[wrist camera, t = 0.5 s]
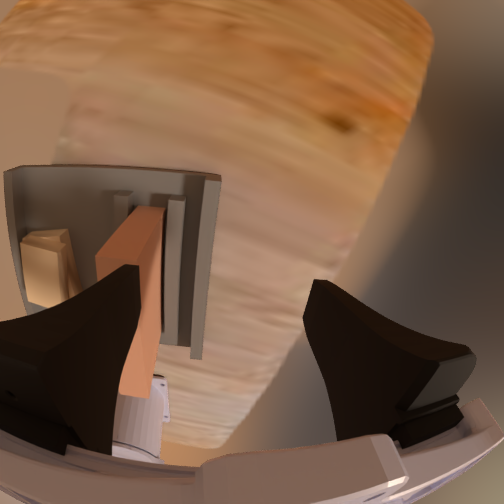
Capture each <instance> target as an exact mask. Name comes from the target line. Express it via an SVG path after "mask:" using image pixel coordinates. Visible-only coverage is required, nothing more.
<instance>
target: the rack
mask: <svg viewBox="0 0 504 504" xmlns="http://www.w3.org/2000/svg"><path fill="white" fill-rule="evenodd" d="M221 182H222V181H221V175H216V174H207V173H198V172H188V171H178V170H167V169H154V168H140V167H122V166H98V165H23V166H18V167H15V168H13V169H10V170H7V171H4V192H5V207H6V216H7V225H8V232H9V239H10V244H11V251H12V256H13V261H14V266H15V271H16V275H17V280H18V284H19V288H20V291H21V295H22V299H23V302H24V306H25V309H26V312H27V315H31V314H34V313H37V312H40V311H42V310H45V309H47V307H44V306H40V305H37V304H35V303H32V302H29V301H28V298H27V293H26V287H25V281H24V274H23V266H22V258H21V247H20V243H21V242H22V241H23V240H22V238H24V237H25V236H26V235H28V234H29V233H30V232H32V231H44V230H57V229H68V231H69V236H70V241H71V246H72V250H73V255H74V259H75V263H76V267H77V271H78V275H79V278H80V282H81V286H82V289H83V291H84V290H85V289H87V288H89V287H90V286H92V285H94V284H95V283H97V282H98V280H97V271H96V260H95V255H96V254H97V253H98V252H99V250H100V249H101V248H102V247H103V245H104V244H105V243H106V242H107V241H108V239H109V238H110V237H111V236H112V235H113V234H114V232H115V231H116V230H117V229H118V228H119V227H120V225H121V224H122V223H123V222H124V221H125V220H126V219H127V217H128V216H129V215H130V214H131V213H132V212H133V211H134V210H135V209H136V208H137V206H150V207H161V208H166V215H165V231H164V254H163V326H162V331H161V335H160V340H159V344H166V345H175V346H185V347H191V352H190V359H198V360H202V350H203V338H204V327H205V316H206V306H207V296H208V286H209V277H210V268H211V259H212V250H213V242H214V234H215V226H216V218H217V211H218V203H219V196H220V189H221Z"/></svg>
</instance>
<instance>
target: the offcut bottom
mask: <svg viewBox="0 0 504 504" xmlns="http://www.w3.org/2000/svg"><path fill="white" fill-rule="evenodd" d="M30 235H32V236H36V237H40V238H44V239H48V240H52V241H56V242H61V243H65V244H66V247H67V274H68V288H69V299H70V298H72V297H74V296H75V295H77V294H79V293H81V292H82V291H83V289H82V286H81V282H80V278H79V275H78V271H77V267H76V263H75V259H74V255H73V250H72V246H71V241H70V236H69V231H68V229H57V230H44V231H32V232H30V233H29V234H28V235H26V236H25V237H24V238H22V240H24V239H26V238H27V237H28V236H30Z"/></svg>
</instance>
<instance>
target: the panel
mask: <svg viewBox="0 0 504 504" xmlns="http://www.w3.org/2000/svg"><path fill="white" fill-rule="evenodd" d="M165 215H166V208H161V207H150V206H137V208H136V209H135V210H134V211H133V212H132V213H131V214H130V215H129V216H128V217H127V219H126V220H125V221H124V222H123V223H122V224H121V225H120V227H119V228H118V229H117V230H116V231H115V232H114V234H113V235H112V236H111V237H110V238H109V239H108V241H107V242H106V243H105V244H104V245H103V247H102V248H101V249H100V250H99V252H98V253H97V254H96V255H95V260H96V271H97V280H98V281H100V280H101V279H103V278H104V277H106V276H107V275H109V274H110V273H112V272H113V271H115V270H116V269H118V268H119V267H121V266H122V265H124V264H130V265H139V271H140V292H141V306H142V308H141V313H140V317H139V322H138V326H137V330H136V333H135V335H134V338H133V341H132V344H131V347H130V350H129V353H128V356H127V358H126V361H125V364H124V367H123V371H122V375H121V379H120V384H119V393H120V394H122V395H128V396H134V397H140V398H147V399H149V397H150V390H151V384H152V378H153V373H154V367H155V361H156V356H157V351H158V346H159V340H160V335H161V331H162V326H163V254H164V231H165Z"/></svg>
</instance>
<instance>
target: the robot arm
mask: <svg viewBox="0 0 504 504" xmlns="http://www.w3.org/2000/svg"><path fill="white" fill-rule="evenodd" d="M141 308H142V306H141V292H140V271H139V265H130V264H124V265H122V266H121V267H119V268H118V269H116V270H115V271H113V272H112V273H110V274H109V275H107V276H106V277H104V278H103V279H101V280H100V281H98V282H97V283H95V284H94V285H92V286H90V287H89V288H87V289H85V290H84V291H82V292H81V293H79V294H77V295H75V296H74V297H72V298H70V299H68V300H66V301H64V302H62V303H60V304H57V305H55V306H52V307H50V308H47V309H45V310H42V311H40V312H37V313H34V314H31V315H27V316H24V317H20V318H16V319H12V320H7V321H1V322H0V490H1V491H3V492H5V493H7V494H8V495H10V496H12V497H14V498H15V499H17V500H19V501H21V502H23V503H25V504H411V503H413V502H415V501H417V500H419V499H420V498H422V497H424V496H426V495H428V494H430V493H431V492H433V491H435V490H437V489H438V488H440V487H442V486H443V485H445V484H447V483H448V482H450V481H452V480H453V479H455V478H456V477H457V476H459V475H461V474H462V473H464V472H465V471H467V470H468V469H469V468H471V467H472V466H473V465H475V464H476V463H477V462H478V461H480V460H481V459H482V458H483V457H484V456H486V455H487V454H488V453H489V452H490V451H491V450H492V449H494V448H495V447H496V446H497V445H498V444H499V443H500V442H501V441H502V440H503V439H504V433H503V432H502V430H501V429H500V427H499V425H498V424H497V423H496V421H495V419H494V418H493V416H492V415H491V414H490V412H489V411H488V409H487V408H486V406H485V405H484V403H483V402H482V400H481V399H480V398H477V399H475V400H473V401H471V402H469V403H467V404H465V405H464V406H462V407H461V408H460V409H459V408H458V406H457V405H456V404H457V403H458V402H459V397H458V396H457V395H456V393H457V392H458V391H459V389H460V388H461V387H462V386H463V384H464V383H465V382H466V380H467V379H468V378H469V376H470V375H471V373H472V371H473V369H474V367H475V365H476V355H475V354H474V353H473V352H472V351H471V349H470V348H469V347H467V346H466V345H462V344H458V343H452V342H448V341H443V340H440V339H436V338H433V337H430V336H427V335H424V334H421V333H418V332H416V331H414V330H411V329H409V328H406V327H404V326H402V325H400V324H398V323H396V322H394V321H392V320H390V319H388V318H386V317H384V316H382V315H381V314H379V313H378V312H376V311H374V310H373V309H371V308H369V307H368V306H366V305H365V304H363V303H362V302H360V301H358V300H357V299H356V298H354V297H353V296H351V295H350V294H348V293H347V292H346V291H344V290H343V289H341V288H340V287H338V286H337V285H335V284H333V283H332V282H330V281H328V280H318V279H314V281H313V284H312V288H311V291H310V294H309V298H308V301H307V305H306V308H305V311H304V315H303V323H304V327H305V331H306V335H307V338H308V341H309V344H310V346H311V348H312V351H313V354H314V356H315V358H316V361H317V363H318V366H319V368H320V371H321V373H322V376H323V379H324V381H325V384H326V387H327V392H328V396H329V400H330V404H331V408H332V413H333V418H334V424H335V430H336V436H337V442H332V443H326V444H319V445H313V446H306V447H298V448H289V449H278V450H265V451H252V452H243V453H235V454H226V455H223V456H220V457H217V458H214V459H211V460H208V461H206V462H205V463H203V464H202V465H201V466H200V467H188V466H175V465H165V464H164V460H161V459H160V447H161V434H162V423H163V422H170V412H169V401H168V389H167V379H166V378H164V377H158V376H153V378H152V384H151V390H150V397H149V399H147V398H140V397H134V396H128V395H122V394H120V393H119V384H120V379H121V375H122V371H123V367H124V364H125V361H126V358H127V356H128V353H129V350H130V347H131V344H132V341H133V338H134V335H135V333H136V330H137V326H138V322H139V317H140V313H141Z"/></svg>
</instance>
